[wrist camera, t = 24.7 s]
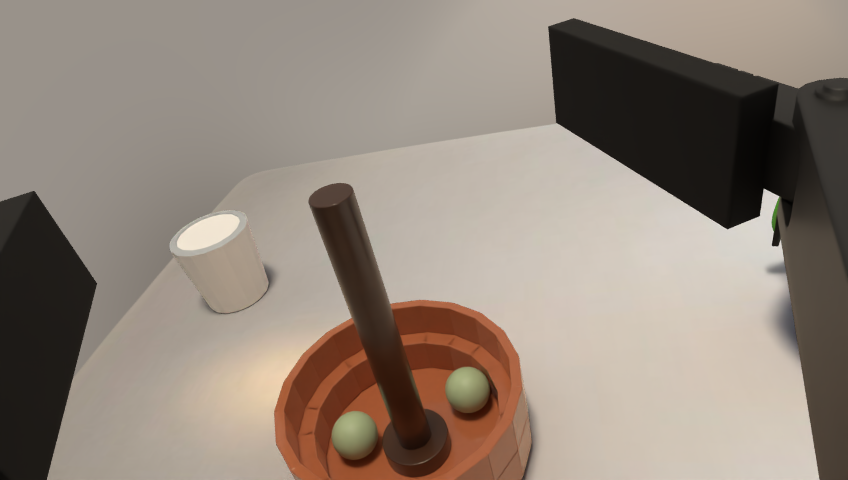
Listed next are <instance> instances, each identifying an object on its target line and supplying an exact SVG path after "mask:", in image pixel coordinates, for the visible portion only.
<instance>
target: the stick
mask: <svg viewBox="0 0 848 480" xmlns="http://www.w3.org/2000/svg"><path fill="white" fill-rule="evenodd" d="M309 205H310V208H311V210H312V213H313V216H314V218H315V221H316V224H317V226H318V229H319V232H320V234H321V237H322V240H323V242H324V245H325V248H326V250H327V253H328V256H329V258H330V261H331V263H332V266H333V269H334V271H335V274H336V277H337V279H338V282H339V285H340V287H341V290H342V293H343V295H344V298H345V301H346V303H347V306H348V309H349V311H350V314H351V316H352V319H353V322H354V324H355V327H356V330H357V332H358V335H359V338H360V340H361V343H362V346H363V348H364V351H365V354H366V356H367V359H368V362H369V364H370V367H371V369H372V372H373V375H374V377H375V380H376V383H377V385H378V388H379V391H380V393H381V396H382V399H383V401H384V404H385V407H386V409H387V412H388V415H389V417H390V420H391V422H390V423H389V424H388V425H387V427H386V429H385V431H384V434H383V438H382V446H383V450H384V453H385V455H386V458H387V460H388V462H389V464H390V466H391V467H392V468H393V469H394V470H395V471H396V472H398V473H399V474H401V475H404V476H408V477H421V476H425V475H428V474H430V473H432V472H434V471H435V470H437V469H438V468H439V467H440V466H441V465H442V464H443V463H444V462H445V461H446V459H447V457H448V455H449V453H450V449H451V438H450V435H449V431H448V428H447V425H446V422H445V420H444V419H443V418H442V417H441V416H440V415H439V414H438V413H436V412H434V411H432V410H429V409H424V408H423V405H422V402H421V399H420V395H419V392H418V389H417V386H416V383H415V380H414V377H413V374H412V371H411V367H410V364H409V361H408V358H407V355H406V352H405V349H404V346H403V343H402V339H401V336H400V333H399V330H398V327H397V324H396V321H395V318H394V315H393V311H392V308H391V305H390V302H389V299H388V296H387V293H386V290H385V287H384V283H383V280H382V277H381V274H380V271H379V268H378V265H377V262H376V259H375V255H374V252H373V249H372V246H371V243H370V240H369V237H368V234H367V231H366V227H365V224H364V221H363V218H362V215H361V212H360V209H359V206H358V203H357V200H356V196H355V193H354V190H353V188H352V187H351V186H350V185H349V184H345V183H336V184H331V185H327V186H325V187H322V188H320V189H318V190H317V191H315V192H314V193H313V194H312V195H311V196H310V198H309Z"/></svg>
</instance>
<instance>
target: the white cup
mask: <svg viewBox="0 0 848 480" xmlns="http://www.w3.org/2000/svg"><path fill="white" fill-rule="evenodd" d="M169 246H170V252H171V253H172V255H173V256H174V257H175V259H176V260H177V262H178V263H179V264H180V266H181V267H182V269H183V270H184V271H185V273H186V274H187V276H188V277H189V278H190V280H191V281H192V283H193V284H194V285H195V287H196V288H197V290H198V291H199V292H200V294H201V295H202V297H203V298H204V299H205V301H206V302H207V304H208V305H209V306H210V308H211V309H213V310H214V311H216V312H217V313H231V312H236V311H240V310H242V309H244V308H247V307H249V306H251V305H252V304H254V303H255V302H256V301H258V300H259V299H260V298H261V297H262V296H263V295H264V293H265V292H266V291H267V288H268V285H269V282H268V279H267V276H266V273H265V270H264V267H263V264H262V261H261V258H260V255H259V252H258V249H257V246H256V243H255V240H254V237H253V235H252V232H251V229H250V226H249V223H248V220H247V218H246V215H245V214H244V213H242V212H240V211H237V210H224V211H220V212H215V213H211V214H208V215H206V216H203V217H201V218H199V219H196V220H194V221H193V222H191V223H189V224H188V225H186V226H184V227H183V228H182V229H181V230H180V231H179V232H178V233H176V234H175V235H174V237H173V238H172V240H171V242H170V244H169Z"/></svg>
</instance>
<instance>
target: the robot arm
mask: <svg viewBox="0 0 848 480" xmlns="http://www.w3.org/2000/svg"><path fill="white" fill-rule="evenodd" d="M548 28H549V41H550V52H551V65H552V77H553V89H554V101H555V113H556V123H558V124H559V125H561V126H563V127H564V128H566V129H567V130H569V131H571V132H572V133H574V134H575V135H577V136H579V137H580V138H582V139H584V140H585V141H587V142H588V143H590V144H592V145H593V146H595V147H596V148H598V149H600V150H601V151H603V152H604V153H606V154H608V155H609V156H611V157H612V158H614V159H616V160H617V161H619V162H620V163H622V164H624V165H625V166H627V167H628V168H630V169H632V170H633V171H635V172H636V173H638V174H640V175H641V176H643V177H644V178H646V179H648V180H649V181H651V182H652V183H654V184H656V185H657V186H659V187H660V188H662V189H664V190H665V191H667V192H668V193H670V194H672V195H673V196H675V197H676V198H678V199H680V200H681V201H683V202H684V203H686V204H688V205H689V206H691V207H692V208H694V209H696V210H697V211H699V212H700V213H702V214H704V215H705V216H707V217H708V218H710V219H712V220H713V221H715V222H716V223H718V224H720V225H721V226H723V227H724V228H726V229H729V228H732V227H734V226H737V225H739V224H741V223H744V222H746V221H749V220H751V219H754V218H756V217H759V216H760V210H761V203H762V196H763V189H766V190H768V191H770V192H772V193H774V194H776V195H778V196H780V199H779V205H778V211H777V217H776V223H775V229H774V235H773V241H772V246H778V245H779V242H780V240H781V243H782V249H783V255H784V261H785V268H786V274H787V280H788V286H789V292H790V299H791V305H792V311H793V317H794V323H795V330H796V336H797V342H798V348H799V354H800V361H801V367H802V373H803V379H804V386H805V392H806V398H807V404H808V410H809V417H810V423H811V429H812V435H813V441H814V448H815V454H816V460H817V466H818V473H819V479H820V480H848V78H836V79H835V78H834V79H826V80H819V81H815V82H811V83H808V84H805V85H804V86H802V87H801V88H799V89H798V88H794V87H791V86H788V85H785V84H782V83H779V82H776V81H772V80H769V79H766V78H763V77H760V76H753V74H750V73H747V72H744V71H738V69H734V68H731V67H728V66H725V65H722V64H719V63H712V62H709V61H706V60H703V59H700V58H697V57H693V56H690V55H687V54H684V53H681V52H678V51H675V50H672V49H669V48H665V47H662V46H659V45H656V44H653V43H650V42H647V41H643V40H640V39H637V38H634V37H631V36H628V35H625V34H621V33H618V32H615V31H612V30H609V29H606V28H603V27H599V26H596V25H593V24H590V23H587V22H584V21H581V20H578V19H574V18H573V19H570V20H567V21H564V22H561V23H558V24H555V25H552V26H549V27H548ZM96 285H97V283H96V281H95V280H94V278H93V277H92V276H91V274H90V272H89V271H88V269H87V268H86V267H85V265H84V264H83V262H82V261H81V259H80V258H79V256H78V255H77V253H76V252H75V250H74V249H73V247H72V246H71V244H70V243H69V241H68V240H67V238H66V237H65V235H64V234H63V233H62V231H61V230H60V228H59V227H58V225H57V224H56V222H55V221H54V219H53V218H52V216H51V215H50V213H49V212H48V210H47V209H46V207H45V206H44V204H43V203H42V202H41V200H40V199H39V197H38V196H37V194H36V193H35V191H32V192H29V193H26V194H23V195H20V196H17V197H13V198H10V199H7V200H4V201H1V202H0V480H47V477H48V473H49V469H50V465H51V461H52V457H53V453H54V449H55V445H56V441H57V438H58V434H59V430H60V426H61V422H62V418H63V414H64V410H65V406H66V402H67V399H68V395H69V391H70V387H71V383H72V379H73V375H74V371H75V367H76V363H77V359H78V356H79V352H80V348H81V344H82V340H83V336H84V332H85V328H86V324H87V321H88V317H89V312H90V309H91V305H92V301H93V297H94V293H95V289H96Z"/></svg>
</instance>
